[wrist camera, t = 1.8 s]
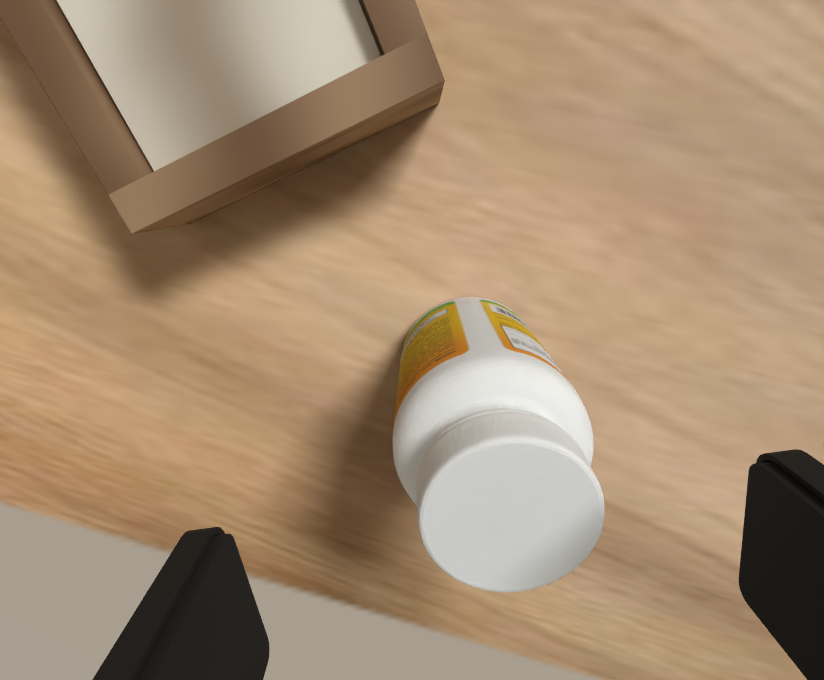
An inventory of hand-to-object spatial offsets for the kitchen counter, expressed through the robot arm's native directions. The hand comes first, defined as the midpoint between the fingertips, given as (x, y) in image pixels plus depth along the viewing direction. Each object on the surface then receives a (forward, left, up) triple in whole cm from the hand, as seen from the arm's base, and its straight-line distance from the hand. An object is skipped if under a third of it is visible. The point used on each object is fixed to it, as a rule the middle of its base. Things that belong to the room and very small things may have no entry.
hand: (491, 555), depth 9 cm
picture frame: (+5, -13, -11) cm, 18 cm away
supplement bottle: (-1, 0, -11) cm, 11 cm away
